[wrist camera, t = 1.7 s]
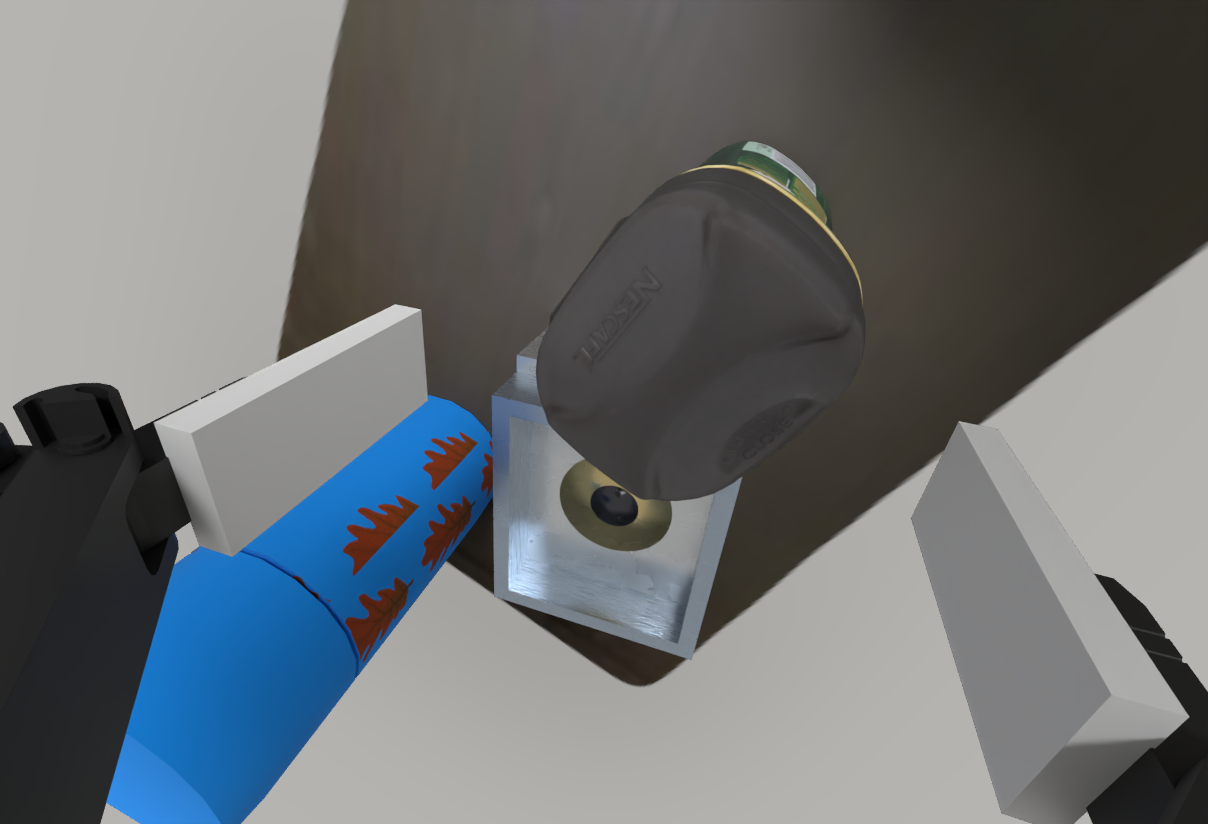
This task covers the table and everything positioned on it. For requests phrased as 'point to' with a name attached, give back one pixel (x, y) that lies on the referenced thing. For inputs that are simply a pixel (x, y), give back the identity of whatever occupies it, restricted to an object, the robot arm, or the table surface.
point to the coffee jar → (704, 329)
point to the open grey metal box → (595, 532)
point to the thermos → (293, 621)
